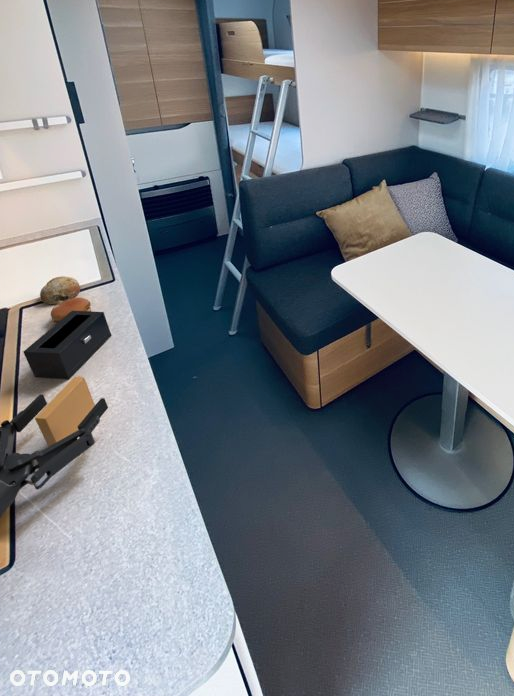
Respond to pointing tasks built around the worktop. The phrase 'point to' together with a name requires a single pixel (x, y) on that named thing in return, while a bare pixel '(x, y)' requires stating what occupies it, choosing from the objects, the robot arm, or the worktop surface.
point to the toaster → (68, 345)
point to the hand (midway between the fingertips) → (74, 400)
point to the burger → (69, 308)
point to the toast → (65, 411)
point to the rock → (59, 290)
